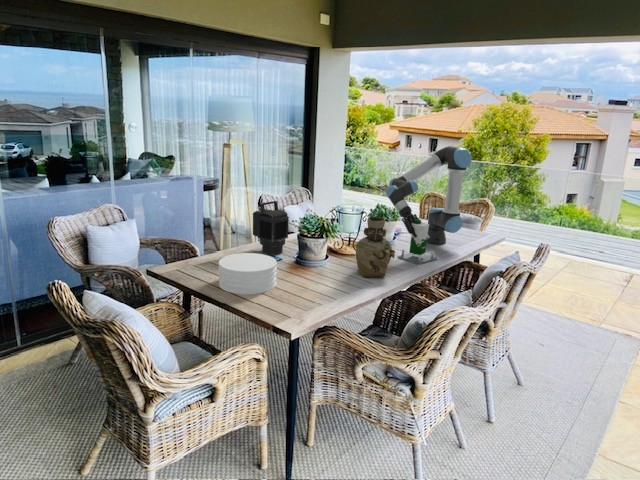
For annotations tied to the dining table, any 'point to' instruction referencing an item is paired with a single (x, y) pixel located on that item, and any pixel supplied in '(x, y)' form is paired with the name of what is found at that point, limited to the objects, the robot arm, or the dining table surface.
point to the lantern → (271, 228)
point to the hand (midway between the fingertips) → (423, 240)
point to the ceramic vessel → (374, 250)
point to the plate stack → (247, 273)
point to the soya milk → (422, 232)
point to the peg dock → (417, 258)
